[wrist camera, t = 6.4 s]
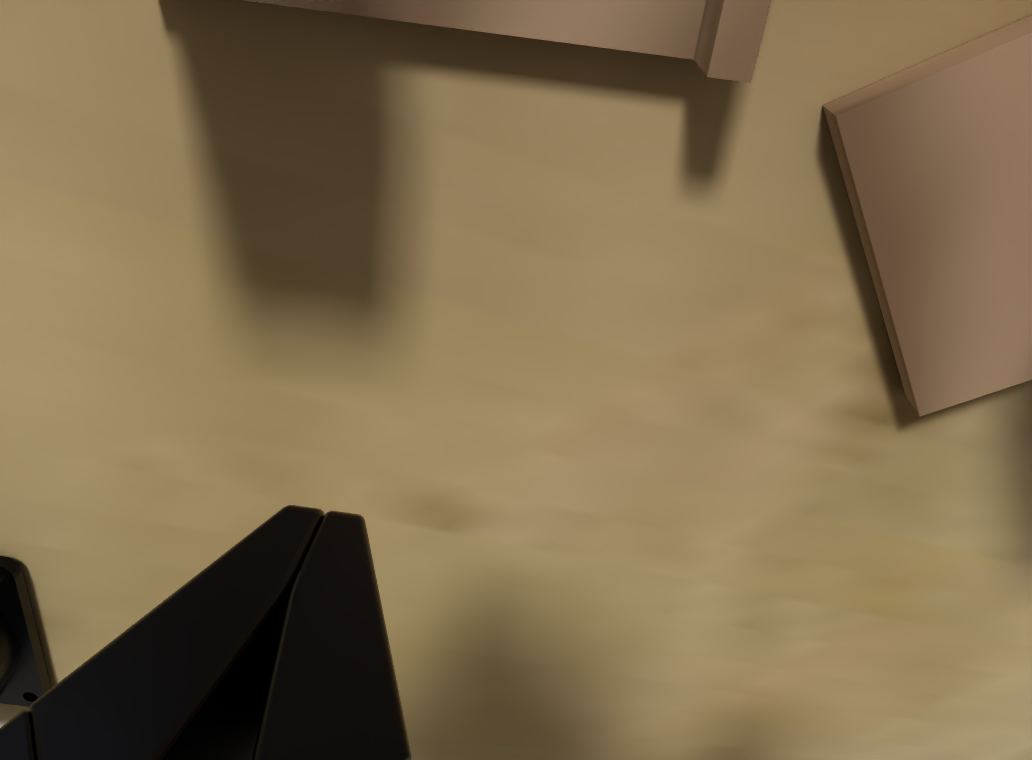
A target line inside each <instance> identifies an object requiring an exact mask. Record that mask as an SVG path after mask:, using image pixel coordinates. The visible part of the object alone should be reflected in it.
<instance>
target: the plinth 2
mask: <svg viewBox="0 0 1032 760" xmlns="http://www.w3.org/2000/svg"><path fill="white" fill-rule="evenodd" d="M823 109H824V112H825V116H826V119H827V123H828V126H829V130H830V133H831V137H832V140H833V144H834V147H835V151H836V154H837V158H838V161H839V164H840V168H841V171H842V175H843V178H844V182H845V185H846V189H847V192H848V196H849V199H850V203H851V206H852V210H853V213H854V217H855V220H856V224H857V227H858V231H859V234H860V238H861V241H862V245H863V248H864V252H865V255H866V259H867V262H868V266H869V269H870V273H871V276H872V280H873V283H874V287H875V290H876V294H877V297H878V301H879V304H880V308H881V311H882V315H883V318H884V322H885V325H886V329H887V332H888V336H889V339H890V343H891V346H892V350H893V353H894V357H895V360H896V364H897V367H898V371H899V374H900V378H901V381H902V385H903V388H904V392H905V395H906V397H907V398H908V400H909V401H910V403H911V404H912V406H913V407H914V409H915V410H916V412H917V413H918V414H919V416H923V415H926V414H929V413H932V412H935V411H938V410H941V409H945V408H948V407H951V406H954V405H957V404H960V403H963V402H966V401H969V400H972V399H975V398H978V397H981V396H984V395H987V394H990V393H993V392H996V391H999V390H1002V389H1005V388H1008V387H1011V386H1014V385H1017V384H1020V383H1023V382H1026V381H1029V380H1032V15H1030V16H1027V17H1025V18H1023V19H1020V20H1018V21H1016V22H1013V23H1011V24H1009V25H1006V26H1004V27H1002V28H1000V29H997V30H995V31H993V32H990V33H988V34H986V35H983V36H981V37H979V38H977V39H974V40H972V41H970V42H967V43H965V44H963V45H960V46H958V47H956V48H953V49H951V50H949V51H947V52H944V53H942V54H940V55H937V56H935V57H933V58H930V59H928V60H926V61H924V62H921V63H919V64H917V65H914V66H912V67H910V68H907V69H905V70H903V71H901V72H898V73H896V74H894V75H891V76H889V77H887V78H884V79H882V80H880V81H877V82H875V83H873V84H871V85H868V86H866V87H864V88H861V89H859V90H857V91H854V92H852V93H850V94H848V95H845V96H843V97H841V98H838V99H836V100H834V101H831V102H829V103H827V104H824V105H823Z"/></svg>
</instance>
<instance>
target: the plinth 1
mask: <svg viewBox="0 0 1032 760" xmlns="http://www.w3.org/2000/svg"><path fill="white" fill-rule="evenodd" d="M243 1H251V2H258V3H266V4H274V5H281V6H289V7H297V8H304V9H312V10H319V11H327V12H335V13H342V14H350V15H358V16H365V17H373V18H380V19H388V20H396V21H403V22H411V23H419V24H426V25H434V26H441V27H449V28H457V29H464V30H472V31H479V32H487V33H495V34H502V35H510V36H518V37H525V38H533V39H540V40H548V41H556V42H563V43H571V44H579V45H586V46H594V47H601V48H609V49H617V50H624V51H632V52H640V53H647V54H655V55H662V56H670V57H678V58H685V59H693V60H694V61H695V62H696V63H697V65H698V66H699V67H700V69H701V70H702V71H703V72H704V74H705V75H706V76H707V77H710V78H718V79H726V80H733V81H741V82H749V83H751V79H752V75H753V71H754V67H755V63H756V59H757V55H758V51H759V47H760V43H761V39H762V35H763V31H764V27H765V23H766V19H767V15H768V11H769V7H770V3H771V0H243Z"/></svg>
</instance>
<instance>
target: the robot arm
mask: <svg viewBox="0 0 1032 760" xmlns="http://www.w3.org/2000/svg"><path fill="white" fill-rule="evenodd" d="M0 703H3V704H12V705H21V706H29V707H30V712H29V711H26V710H24V711H22V712H20V713H19V714H18V715H16V716H15V717H14V718H12V719H11V720H10V721H9V722H7V723H6V724H5V725H3V726H2V727H1V728H0V760H411V752H410V747H409V742H408V737H407V732H406V727H405V722H404V717H403V712H402V707H401V702H400V696H399V691H398V686H397V681H396V676H395V671H394V666H393V661H392V656H391V651H390V646H389V641H388V636H387V630H386V625H385V620H384V615H383V610H382V605H381V600H380V595H379V590H378V585H377V580H376V575H375V570H374V564H373V559H372V554H371V549H370V544H369V539H368V534H367V529H366V524H365V520H364V518H363V517H362V516H361V515H358V514H351V513H344V512H337V511H330V512H328V513H326V514H324V512H323V511H322V510H321V509H316V508H309V507H302V506H295V505H289V506H286V507H284V508H282V509H281V510H280V511H278V512H277V513H276V514H275V515H273V516H272V517H271V518H270V519H268V520H267V521H266V522H264V523H263V524H262V525H261V526H259V527H258V528H257V529H255V530H254V531H253V532H252V533H250V534H249V535H248V536H246V537H245V538H244V539H243V540H241V541H240V542H239V543H237V544H236V545H235V546H234V547H232V548H231V549H230V550H228V551H227V552H226V553H225V554H223V555H222V556H221V557H219V558H218V559H217V560H216V561H214V562H213V563H212V564H210V565H209V566H208V567H207V568H205V569H204V570H203V571H202V572H200V573H199V574H198V575H196V576H195V577H194V578H193V579H191V580H190V581H189V582H187V583H186V584H185V585H184V586H182V587H181V588H180V589H178V590H177V591H176V592H175V593H173V594H172V595H171V596H169V597H168V598H167V599H166V600H164V601H163V602H162V603H160V604H159V605H158V606H157V607H155V608H154V609H153V610H151V611H150V612H149V613H148V614H146V615H145V616H144V617H143V618H141V619H140V620H139V621H137V622H136V623H135V624H134V625H132V626H131V627H130V628H128V629H127V630H126V631H125V632H123V633H122V634H121V635H119V636H118V637H117V638H116V639H114V640H113V641H112V642H110V643H109V644H108V645H107V646H105V647H104V648H103V649H101V650H100V651H99V652H98V653H96V654H95V655H94V656H92V657H91V658H90V659H89V660H87V661H86V662H85V663H83V664H82V665H81V666H80V667H78V668H77V669H76V670H75V671H73V672H72V673H71V674H69V675H68V676H67V677H66V678H64V679H63V680H62V681H60V682H59V683H58V684H57V685H55V686H54V687H53V688H51V685H50V681H49V677H48V673H47V669H46V665H45V661H44V657H43V653H42V649H41V645H40V640H39V636H38V632H37V628H36V624H35V620H34V616H33V612H32V608H31V604H30V600H29V596H28V592H27V588H26V584H25V580H24V576H23V572H22V569H21V567H20V565H19V564H18V563H17V562H16V561H14V560H12V559H11V558H8V557H4V556H0Z"/></svg>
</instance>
